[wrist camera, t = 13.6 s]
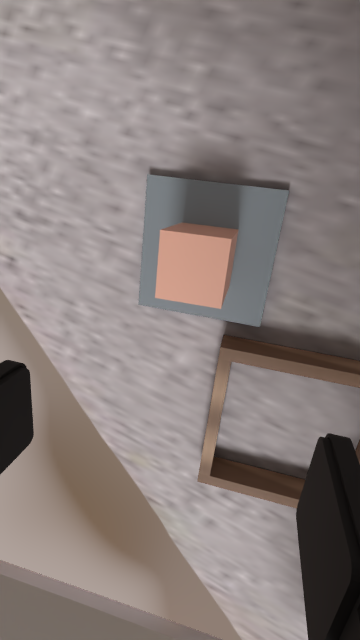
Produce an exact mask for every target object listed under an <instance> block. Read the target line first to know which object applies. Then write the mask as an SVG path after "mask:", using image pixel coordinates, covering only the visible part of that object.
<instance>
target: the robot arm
mask: <svg viewBox="0 0 360 640" xmlns="http://www.w3.org/2000/svg"><path fill="white" fill-rule="evenodd" d="M31 401H32V400H31V384H30V372H29V370H28V369H27V368H26V366H25V364H23V363H19V362H15V361H11V360H6V361H4V362H2V363H0V474H1V473H2V472H3V471H4V470H5V469H6V468H7V467H8V466H9V465H10V464H11V463H12V462H13V461H14V460H15V459H16V458H17V457H18V456H19V455H20V454H21V452H22V451H23V450H24V449H25V448H26V447H27V446H28V445H29V444H30V442H31V441H32V438H33V417H32V402H31ZM296 520H297V530H298V540H299V550H300V560H301V570H302V580H303V591H304V601H305V611H306V621H307V631H308V640H360V463H359V461H358V458H357V455H356V452H355V450H354V447H353V444H352V441H351V439H350V438H347V437H343V436H338V435H334V434H327V435H326V437H325V438H324V437H319V439H318V441H317V445H316V448H315V451H314V454H313V457H312V461H311V464H310V467H309V470H308V473H307V476H306V480H305V483H304V486H303V489H302V492H301V496H300V499H299V502H298V505H297V512H296ZM0 640H222V639H220V638H217V637H214V636H212V635H209V634H207V633H204V632H201V631H198V630H196V629H193V628H190V627H187V626H184V625H182V624H179V623H176V622H173V621H171V620H168V619H165V618H162V617H159V616H157V615H154V614H151V613H148V612H145V611H142V610H140V609H137V608H134V607H131V606H129V605H126V604H123V603H120V602H118V601H115V600H112V599H109V598H107V597H104V596H101V595H98V594H95V593H92V592H89V591H87V590H84V589H81V588H78V587H76V586H73V585H69V584H67V583H64V582H61V581H59V580H56V579H53V578H50V577H47V576H44V575H42V574H38V573H36V572H33V571H30V570H27V569H25V568H22V567H19V566H16V565H13V564H10V563H7V562H5V561H2V560H0Z"/></svg>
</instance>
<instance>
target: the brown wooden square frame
mask: <svg viewBox="0 0 360 640" xmlns="http://www.w3.org/2000/svg"><path fill="white" fill-rule="evenodd" d="M231 361H232V362H237V363H242V364H246V365H251V366H256V367H261V368H266V369H271V370H276V371H280V372H285V373H290V374H295V375H300V376H305V377H310V378H315V379H319V380H324V381H329V382H334V383H339V384H344V385H349V386H354V387H358V388H360V361H358V360H353V359H347V358H342V357H337V356H332V355H327V354H321V353H316V352H311V351H306V350H301V349H295V348H290V347H285V346H280V345H275V344H269V343H264V342H259V341H254V340H249V339H243V338H238V337H233V336H228V335H224V336H223V340H222V343H221V347H220V353H219V358H218V364H217V370H216V376H215V382H214V388H213V393H212V399H211V405H210V411H209V417H208V422H207V428H206V434H205V440H204V446H203V452H202V457H201V463H200V469H199V475H198V482H201V483H205V484H209V485H212V486H216V487H220V488H224V489H227V490H231V491H235V492H238V493H242V494H246V495H249V496H253V497H257V498H260V499H264V500H268V501H271V502H275V503H279V504H282V505H286V506H290V507H294V508H297V505H298V502H299V499H300V496H301V492H302V489H303V486H304V483H305V480H304V479H301V478H297V477H293V476H289V475H285V474H281V473H277V472H273V471H269V470H265V469H261V468H258V467H254V466H250V465H246V464H242V463H238V462H234V461H230V460H226V459H222V458H219V457H215V456H214V451H215V446H216V440H217V435H218V430H219V424H220V419H221V414H222V408H223V403H224V398H225V393H226V387H227V382H228V377H229V371H230V366H231ZM355 452H356V455H357V458H358V461H359V463H360V441H359V443H358V446H357V448H356V451H355Z"/></svg>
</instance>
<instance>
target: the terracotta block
mask: <svg viewBox="0 0 360 640" xmlns="http://www.w3.org/2000/svg"><path fill="white" fill-rule="evenodd" d="M237 236H238V229H230V228H222V227H214V226H206V225H198V224H190V223H179V224H176V225H173V226H170V227H167V228H164V229H161V230H160V238H159V252H158V265H157V278H156V292H155V298H159V299H165V300H171V301H177V302H183V303H189V304H195V305H200V306H206V307H212V308H218V309H221V307H222V305H223V302H224V299H225V297H226V294H227V291H228V289H229V286H230V280H231V274H232V268H233V261H234V255H235V249H236V242H237Z"/></svg>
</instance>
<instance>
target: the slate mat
mask: <svg viewBox="0 0 360 640" xmlns="http://www.w3.org/2000/svg"><path fill="white" fill-rule="evenodd" d="M288 194H289V190H280V189H271V188H263V187H254V186H245V185H236V184H228V183H219V182H210V181H201V180H193V179H184V178H175V177H166V176H158V175H149V174H147V187H146V202H145V217H144V232H143V246H142V261H141V276H140V290H139V305H143V306H149V307H154V308H160V309H165V310H170V311H176V312H181V313H187V314H192V315H197V316H203V317H208V318H214V319H219V320H224V321H230V322H235V323H241V324H246V325H251V326H257V327H260V324H261V320H262V315H263V310H264V306H265V301H266V296H267V292H268V287H269V282H270V278H271V273H272V268H273V264H274V259H275V255H276V250H277V245H278V241H279V236H280V231H281V227H282V222H283V217H284V213H285V208H286V203H287V199H288ZM179 223H190V224H198V225H206V226H214V227H222V228H230V229H238V236H237V242H236V249H235V255H234V261H233V268H232V274H231V280H230V286H229V289H228V291H227V294H226V297H225V299H224V302H223V305H222V307H221V309H218V308H212V307H206V306H200V305H195V304H189V303H183V302H177V301H171V300H165V299H159V298H155V292H156V278H157V265H158V252H159V238H160V230H161V229H164V228H167V227H170V226H173V225H176V224H179Z"/></svg>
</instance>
